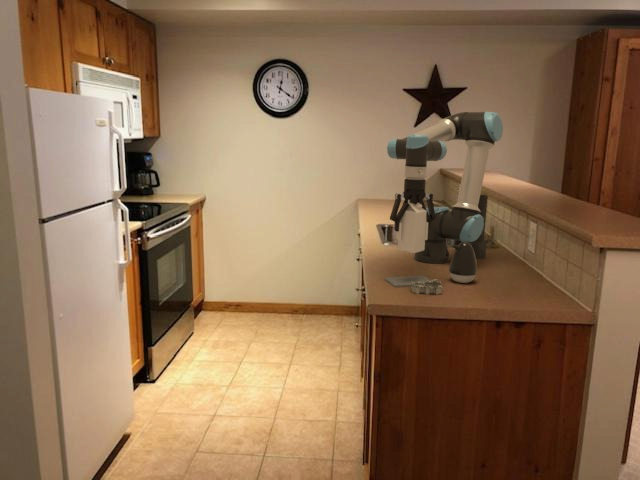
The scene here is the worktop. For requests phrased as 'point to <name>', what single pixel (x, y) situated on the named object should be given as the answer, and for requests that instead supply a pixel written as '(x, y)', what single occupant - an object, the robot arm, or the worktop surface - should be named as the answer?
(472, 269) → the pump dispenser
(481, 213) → the flashlight
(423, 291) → the egg carton
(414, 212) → the milk carton
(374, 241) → the worktop surface
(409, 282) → the mat
